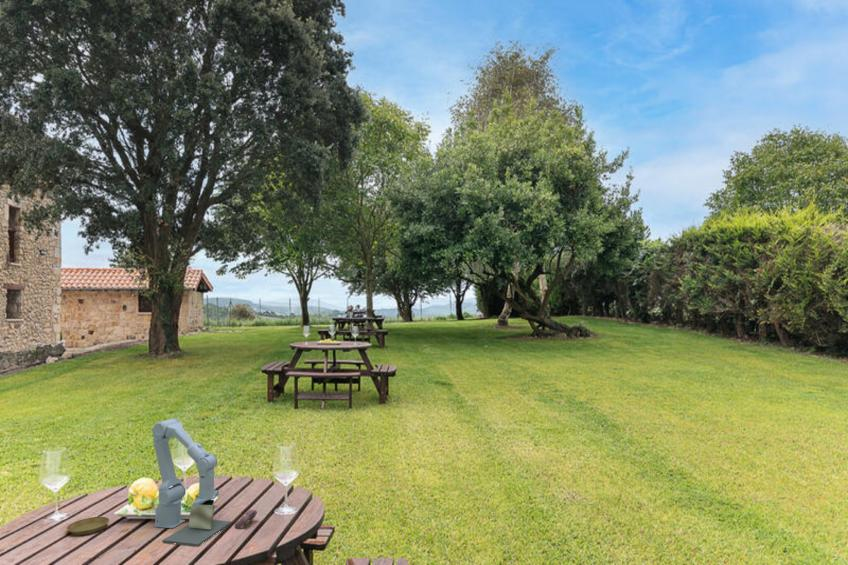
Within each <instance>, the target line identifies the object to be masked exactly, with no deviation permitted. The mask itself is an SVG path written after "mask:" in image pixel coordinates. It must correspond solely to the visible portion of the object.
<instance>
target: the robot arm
mask: <svg viewBox="0 0 848 565" xmlns="http://www.w3.org/2000/svg"><path fill="white" fill-rule="evenodd" d="M151 431H152V437H153V438H152V439H153V441H152V442H153V447H154V450H155V455H156V459H157V464H158V469H159V472H160V473H159V474H160V478H161V481H162V482H161V484H160V486H159V487H158V498H157V499H158V501H159V503H158V504H157V506H156V508H155V517H154V518H155V519H154V521H155V522H154V524H153V527H154V528H162V529H163V528H164V529H165V528H166V529H174V528H176V527H177V526H180V525H182V524H183V523H184V522H186V520H185V519H182V518H181V514H182V513H181V512H182V501H183V498H184V497H185V495H186V487H185V486H184V483H183V480H182V479H180V478H178V477H177V473H176V471H175V470H176V469H175V466H174V461H173V457H172V453H171V449H170V445H169V441H170V440H171V438H175V439H176V440H177V441H178V442H180V444H182V445H183V446H184V448H186V449H187V450H186V453H187V455H188V456H189V457H190V458H191V459H192V460H193V461H194V462H195V464H196V469H197V471H198V476H199V477H198V478H199V482H198V484H199V485H198V486H199V488H198V497H197V498H196V499H195V500H194V501H192V504H193V507H198V506H199V505H200V504H206V505H214V502H215V500H214V499H216V498H217V496H219V495H220V490H219V489H218V490H215V468H216V467H217V465H218V458H217V456H216V455H215V454H212V453H209V452H208V451H207V450H206V449H205V448H204V447H203V445H202V444H201V443H199V442H194V440H193V439H192V438H191V436H190V435H189V434H188V433H187V432H186V430H185V429H184V427H183V423H182V422H181V421H180V419H178V418H176V417H172V418H170V419H166V420H162V421H157V422H156V423H155V424H154V425H153V427H152V429H151Z"/></svg>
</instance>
